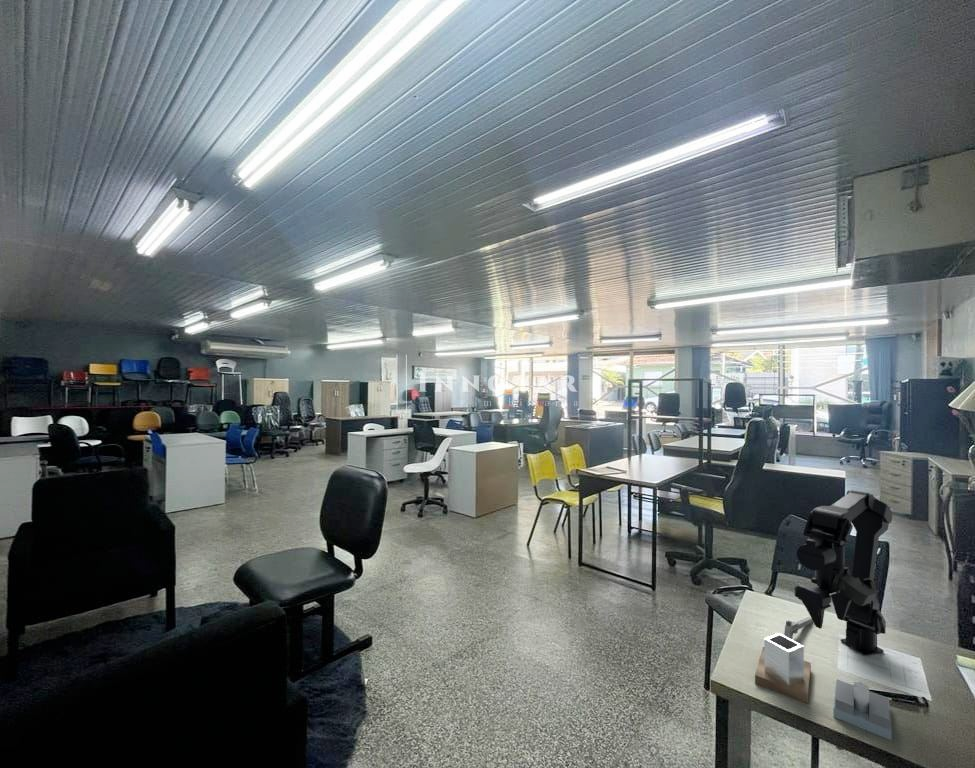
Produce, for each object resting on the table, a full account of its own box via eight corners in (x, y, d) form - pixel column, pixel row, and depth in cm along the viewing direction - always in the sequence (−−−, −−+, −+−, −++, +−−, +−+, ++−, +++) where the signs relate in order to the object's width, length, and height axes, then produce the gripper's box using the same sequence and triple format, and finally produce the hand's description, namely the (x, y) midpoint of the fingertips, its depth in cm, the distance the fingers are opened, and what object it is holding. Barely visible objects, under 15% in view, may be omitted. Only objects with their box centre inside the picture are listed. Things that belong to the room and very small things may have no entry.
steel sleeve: (779, 665, 103) (778, 632, 103) (803, 679, 98) (803, 645, 98) (764, 671, 101) (764, 638, 101) (789, 686, 96) (788, 652, 96)
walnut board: (763, 654, 110) (763, 646, 110) (810, 670, 104) (810, 662, 104) (755, 683, 100) (755, 674, 100) (807, 703, 93) (807, 694, 93)
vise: (836, 688, 98) (835, 659, 98) (889, 708, 92) (888, 677, 92) (833, 716, 90) (833, 684, 90) (891, 740, 84) (891, 705, 84)
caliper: (788, 647, 114) (788, 624, 114) (784, 645, 115) (784, 622, 115) (813, 621, 126) (813, 600, 126) (809, 619, 127) (809, 599, 127)
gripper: (846, 581, 93) (846, 651, 92) (891, 567, 100) (891, 632, 100) (792, 562, 103) (793, 625, 103) (837, 550, 110) (837, 609, 110)
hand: (829, 623), depth 104 cm, fingers open, 9 cm apart
